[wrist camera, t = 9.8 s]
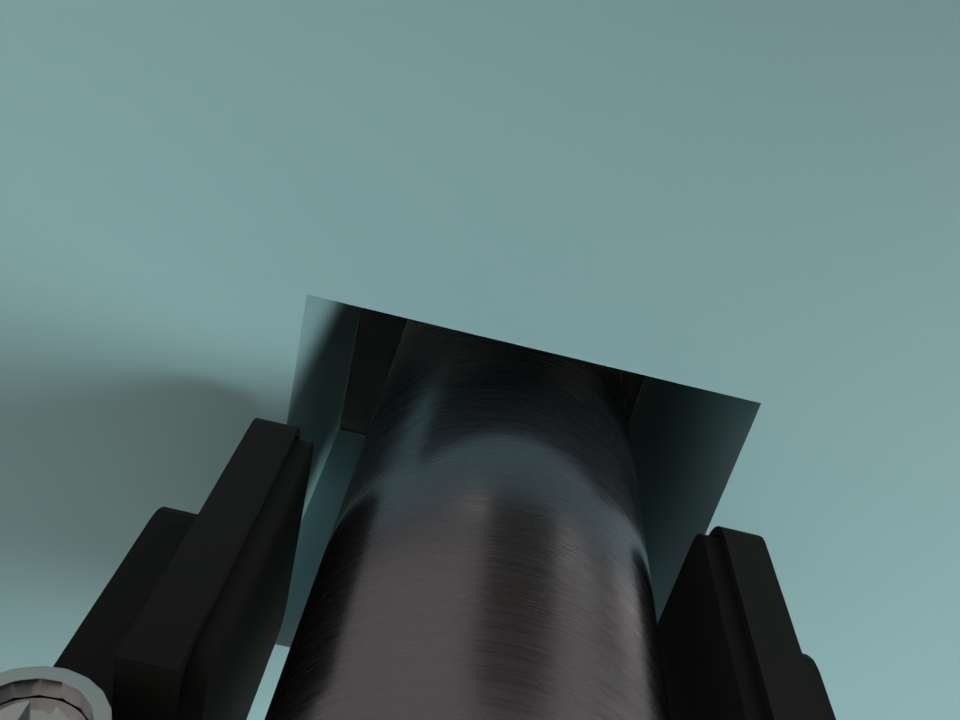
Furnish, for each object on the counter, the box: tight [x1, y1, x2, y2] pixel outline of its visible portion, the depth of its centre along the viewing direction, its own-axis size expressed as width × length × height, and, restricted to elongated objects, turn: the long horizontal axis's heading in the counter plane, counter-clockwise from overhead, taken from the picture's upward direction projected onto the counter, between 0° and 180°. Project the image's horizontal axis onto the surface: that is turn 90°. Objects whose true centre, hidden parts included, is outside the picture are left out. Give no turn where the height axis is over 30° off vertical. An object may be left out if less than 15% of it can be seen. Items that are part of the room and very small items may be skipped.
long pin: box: [265, 319, 671, 720], centre depth 12 cm, size 4×4×12 cm
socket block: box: [0, 0, 960, 720], centre depth 15 cm, size 16×16×6 cm
